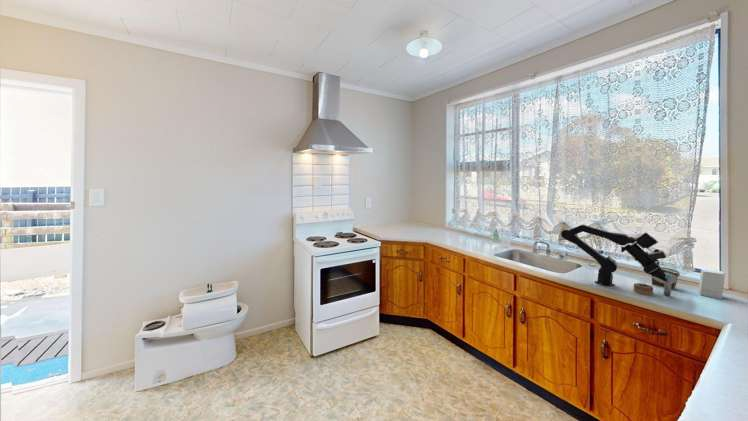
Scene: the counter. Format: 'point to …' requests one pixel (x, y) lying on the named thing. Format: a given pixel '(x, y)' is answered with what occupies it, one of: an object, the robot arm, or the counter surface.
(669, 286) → the teal-capped metal tube
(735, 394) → the counter surface
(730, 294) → the counter surface
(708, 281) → the supplement box
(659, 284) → the food container
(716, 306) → the counter surface
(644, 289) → the brown octagonal ring
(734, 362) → the counter surface
